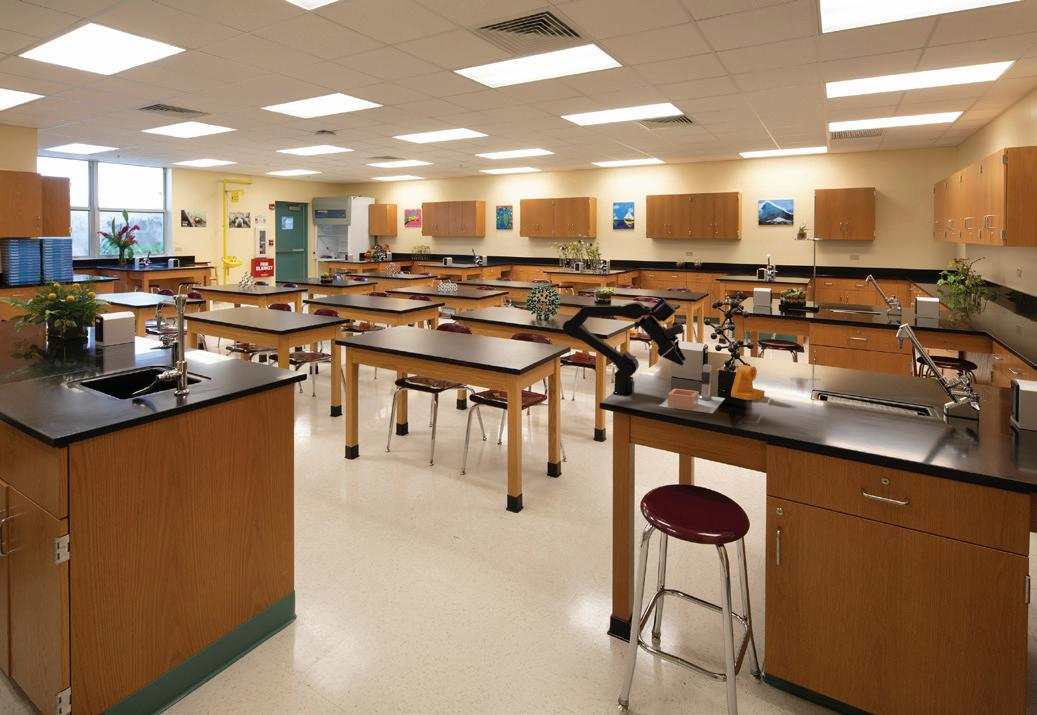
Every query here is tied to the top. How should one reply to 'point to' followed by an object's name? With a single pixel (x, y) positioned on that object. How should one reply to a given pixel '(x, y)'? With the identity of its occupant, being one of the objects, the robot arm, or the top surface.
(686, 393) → the holder
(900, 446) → the top surface
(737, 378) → the bracket
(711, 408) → the bench mat
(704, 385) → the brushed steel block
